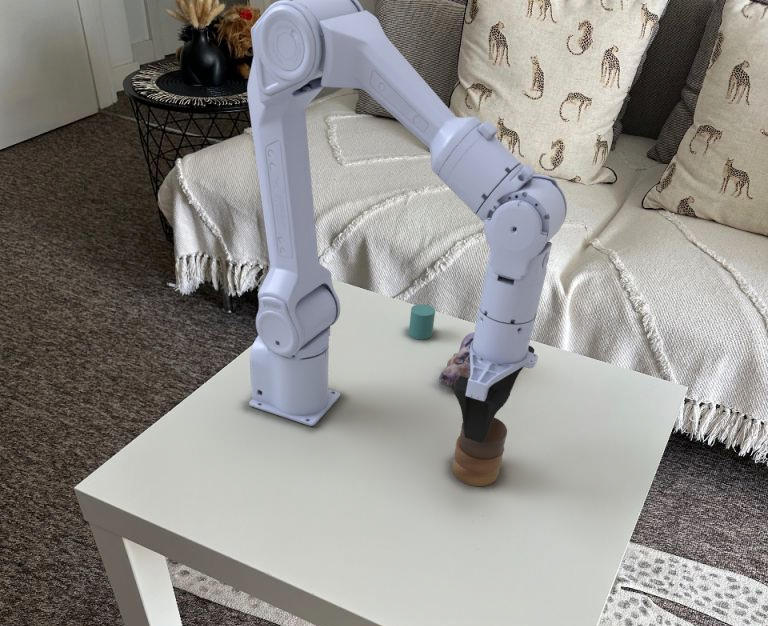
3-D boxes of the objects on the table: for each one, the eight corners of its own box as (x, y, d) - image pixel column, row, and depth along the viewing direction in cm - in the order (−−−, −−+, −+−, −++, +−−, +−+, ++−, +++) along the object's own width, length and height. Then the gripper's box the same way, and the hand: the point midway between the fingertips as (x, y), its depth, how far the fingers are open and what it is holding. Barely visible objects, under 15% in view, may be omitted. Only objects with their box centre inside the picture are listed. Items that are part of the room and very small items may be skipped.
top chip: (447, 464, 83) (449, 450, 81) (463, 438, 86) (465, 425, 85) (492, 479, 81) (496, 465, 80) (507, 452, 85) (510, 439, 84)
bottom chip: (445, 477, 84) (447, 464, 83) (461, 451, 88) (463, 438, 86) (490, 492, 83) (492, 479, 81) (504, 465, 86) (507, 452, 85)
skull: (457, 399, 95) (460, 356, 92) (418, 379, 100) (421, 338, 96) (517, 376, 101) (522, 335, 98) (478, 358, 106) (482, 319, 103)
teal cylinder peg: (405, 335, 107) (407, 311, 105) (414, 325, 110) (416, 301, 107) (427, 342, 106) (430, 317, 104) (435, 331, 109) (438, 307, 106)
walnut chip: (452, 450, 81) (455, 433, 80) (467, 426, 85) (470, 409, 83) (495, 464, 80) (499, 447, 78) (508, 439, 84) (512, 422, 82)
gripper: (526, 354, 65) (499, 467, 74) (563, 291, 75) (535, 398, 84) (454, 333, 67) (436, 447, 76) (500, 275, 76) (479, 381, 86)
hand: (484, 420), depth 80 cm, fingers open, 7 cm apart
